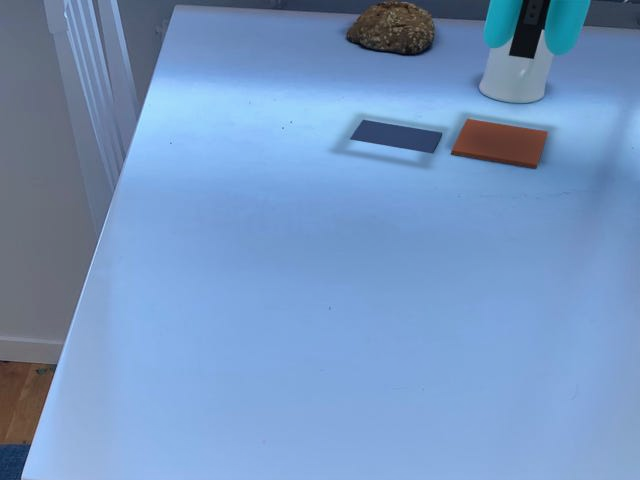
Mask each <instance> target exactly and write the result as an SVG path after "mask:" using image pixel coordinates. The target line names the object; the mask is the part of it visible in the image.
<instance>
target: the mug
mask: <svg viewBox="0 0 640 480" xmlns="http://www.w3.org/2000/svg"><path fill="white" fill-rule="evenodd" d="M544 31H545V30H542V32H541V36H540V39H539V43H538V46H537V50H536V53H535V57H534V59H529V58H522V57H515V56H508V55H509V51H510V48H511V44H512V40H513V37H512V38H511V39H510V41H509V42H508V43H506V44H505V45H504V46H502V47H500V48H491V47H490V48H489V49H490V50H489V52H488V56H487V61H486V64H485V69H484V72H483V76H482V77H481V81H480V83H479V85H478V90H479V91H480V93H481V94H483V95H484V96H486V97H487V98H490V99H492V100H495V101H498V102H499V101H500V102H503V103H511V104H530V103H534V102H538V101H540V100H542V99H543V98H544V96H545V91H546V84H547V80H548V76H549V73H550V70H551V67H552V63H553V59H554V54H552V53H551V52H550V51H549V50H548V48H547V46H546V43H545V38H544Z"/></svg>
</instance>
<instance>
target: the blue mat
mask: <svg viewBox="0 0 640 480" xmlns="http://www.w3.org/2000/svg"><path fill="white" fill-rule="evenodd" d="M442 137H443V131H442V132H441V131H435V130H429V129H424V128H423V129H422V128H417V127H411V126H405V125H398V124H394V123H393V124H392V123H386V122H380V121H375V120H368V119H362V120H361V122H360V123H359V124H358V126H357V127H356V129H355V130H354V132H353V133H352V134H351V136H350V138H349V140H351V141H356V142H362V143H366V144H367V143H368V144H374V145H379V146H384V147H385V146H386V147H390V148H397V149H403V150H409V151H415V152H421V153H427V154H434V152H435V150H436V148H437V147H438V145H439V143H440V142H441V139H442Z"/></svg>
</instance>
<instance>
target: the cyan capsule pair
mask: <svg viewBox="0 0 640 480" xmlns="http://www.w3.org/2000/svg"><path fill="white" fill-rule="evenodd" d="M489 1H490V2H489V5H488V9H487V14H486V17H485V18H486V19H485V24H484V28H483V31H482V32H483V33H482V34H483V37H482V38H483V41H484V43H485V45H486V46H487V47H488V48H490V49H491V48H500V47H502V46H504V45H505V44H506V43H508V42H509V41H510V39H511V38H512V37H513V36H514V33H515V29H516V25H517V21H518V18H519V14H520V10H521V6H522V3H523V0H489ZM591 1H592V0H551V2H550V6H549V10H548V14H547V18H546V23H545V31H544V38H545V43H546V46H547V48H548V50H549V51H550V52H551V53H552V54H554V55H555V56H559V57H561V56H564V55H566V54H569V52H570V51H572V50H573V48H574V47H575V46H576V44H577V42H578V40H579V38H580V35H581V33H582V30H583V27H584V24H585V21H586V17H587V15H588V12H589V9H590V5H591Z"/></svg>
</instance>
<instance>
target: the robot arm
mask: <svg viewBox="0 0 640 480" xmlns="http://www.w3.org/2000/svg"><path fill="white" fill-rule="evenodd" d="M550 2H551V0H523V3H522V6H521V10H520V14H519V18H518V21H517V25H516V29H515V33H514V36H513V40H512V44H511V48H510V51H509V55H508V56H515V57H522V58H529V59H534V57H535V53H536V50H537V46H538V43H539V39H540V36H541V32H542V30H545V23H546V18H547V14H548V10H549V6H550Z"/></svg>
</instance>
